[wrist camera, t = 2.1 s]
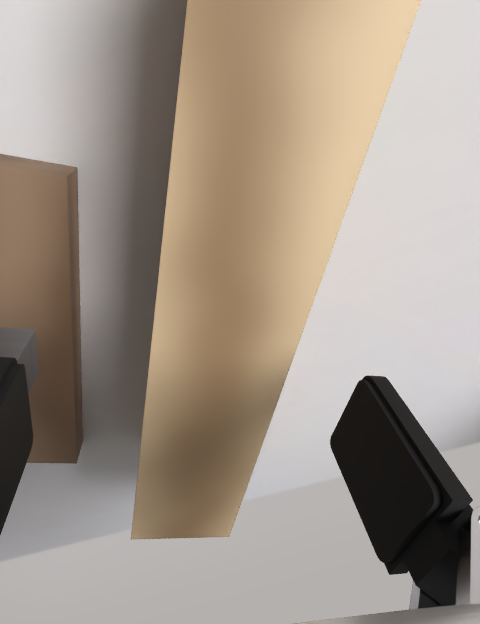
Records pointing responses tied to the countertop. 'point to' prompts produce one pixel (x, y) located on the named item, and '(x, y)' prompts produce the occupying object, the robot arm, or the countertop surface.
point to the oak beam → (250, 232)
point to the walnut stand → (43, 299)
